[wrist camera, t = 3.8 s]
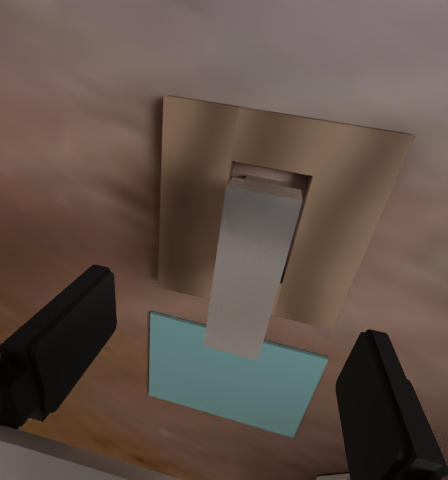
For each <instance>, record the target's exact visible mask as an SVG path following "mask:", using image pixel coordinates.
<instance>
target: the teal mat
mask: <svg viewBox="0 0 448 480" xmlns="http://www.w3.org/2000/svg"><path fill="white" fill-rule="evenodd" d="M205 332H206V325H203V324H199V323H195V322H191V321H187V320H183V319H179V318H176V317H172V316H168V315H164V314H160V313H156V312H152V311H151V313H150V357H149V395H150V396H153V397H157V398H160V399H164V400H167V401H170V402H174V403H177V404H180V405H184V406H187V407H190V408H194V409H197V410H200V411H204V412H207V413H211V414H214V415H217V416H221V417H224V418H227V419H231V420H234V421H237V422H241V423H244V424H248V425H251V426H254V427H258V428H261V429H264V430H268V431H271V432H274V433H278V434H281V435H285V436H288V437H291V438H293V437H294V435H295V433H296V431H297V429H298V426H299V424H300V422H301V420H302V417H303V415H304V413H305V411H306V409H307V406H308V404H309V402H310V400H311V397H312V395H313V393H314V391H315V389H316V386H317V384H318V382H319V380H320V377H321V375H322V373H323V371H324V368H325V366H326V364H327V362H328V357H326V356H322V355H318V354H315V353H311V352H307V351H303V350H299V349H295V348H291V347H287V346H284V345H280V344H276V343H272V342H268V341H263V344H262V348H261V352H260V355H259V359H258V360H254V359H250V358H247V357H243V356H239V355H235V354H232V353H228V352H224V351H220V350H217V349H213V348H209V347H205V346H204V339H205Z"/></svg>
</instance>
